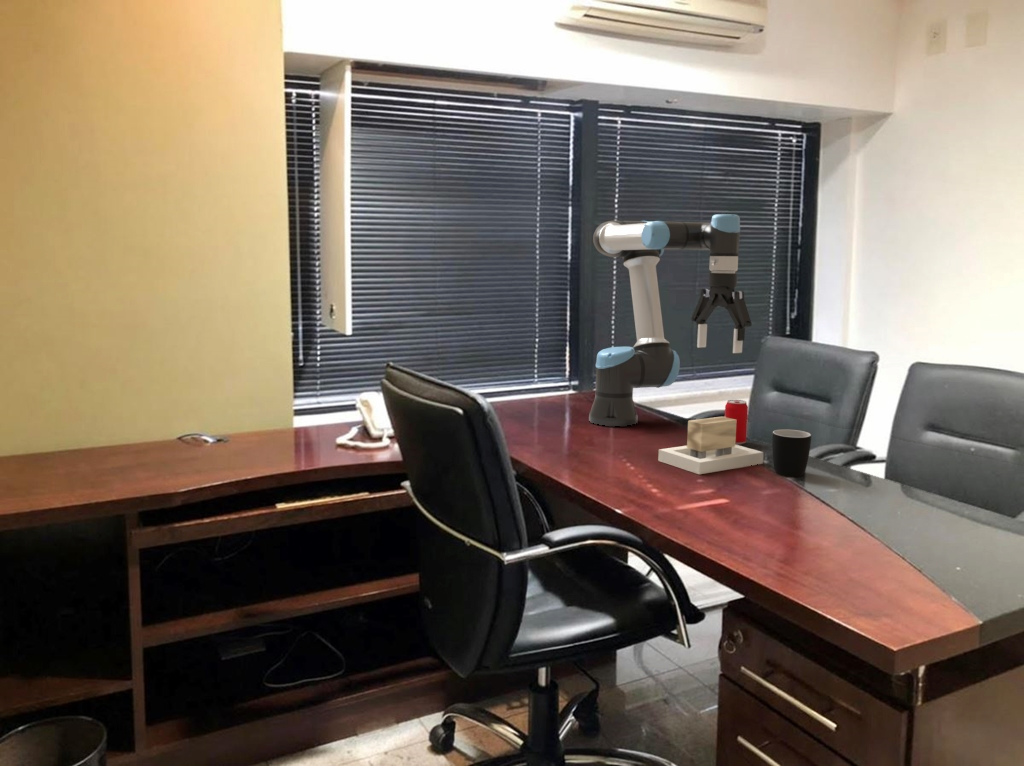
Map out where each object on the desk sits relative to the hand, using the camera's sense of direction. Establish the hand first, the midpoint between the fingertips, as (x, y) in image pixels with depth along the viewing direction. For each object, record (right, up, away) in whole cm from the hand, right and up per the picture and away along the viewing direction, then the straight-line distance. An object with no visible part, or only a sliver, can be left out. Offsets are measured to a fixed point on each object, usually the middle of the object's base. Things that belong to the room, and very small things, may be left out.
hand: (719, 350), depth 234 cm
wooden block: (-6, -25, -16) cm, 31 cm away
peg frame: (-6, -29, -15) cm, 34 cm away
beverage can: (+6, -26, +7) cm, 28 cm away
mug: (+11, -31, -24) cm, 41 cm away
